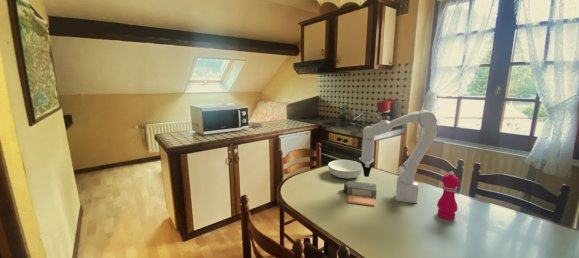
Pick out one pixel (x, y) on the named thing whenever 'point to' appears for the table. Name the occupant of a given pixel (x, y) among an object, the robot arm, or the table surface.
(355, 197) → the side door
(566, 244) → the table surface
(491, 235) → the table surface
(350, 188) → the camera housing
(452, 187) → the pepper mill
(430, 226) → the table surface
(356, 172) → the serving bowl
